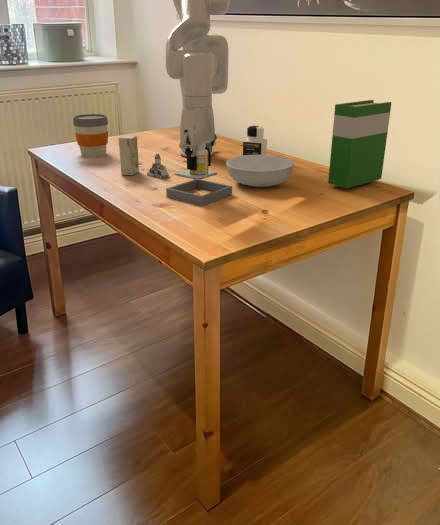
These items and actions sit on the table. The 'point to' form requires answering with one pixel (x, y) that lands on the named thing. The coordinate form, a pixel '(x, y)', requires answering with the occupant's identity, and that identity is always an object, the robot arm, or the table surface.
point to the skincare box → (128, 155)
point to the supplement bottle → (201, 162)
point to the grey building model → (158, 169)
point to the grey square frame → (181, 194)
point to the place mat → (187, 174)
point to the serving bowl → (259, 169)
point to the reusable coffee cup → (91, 134)
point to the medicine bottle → (255, 141)
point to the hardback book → (358, 142)
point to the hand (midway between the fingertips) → (199, 167)
